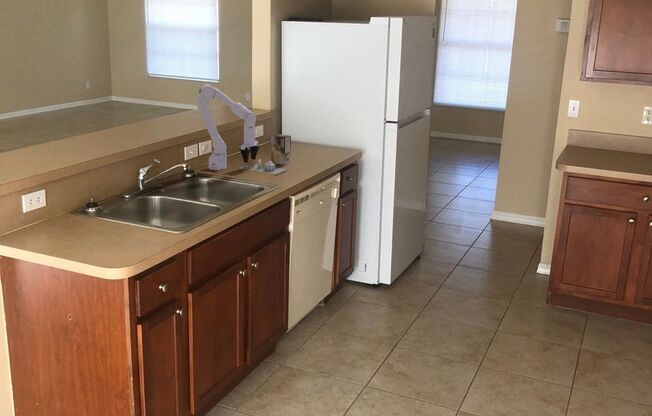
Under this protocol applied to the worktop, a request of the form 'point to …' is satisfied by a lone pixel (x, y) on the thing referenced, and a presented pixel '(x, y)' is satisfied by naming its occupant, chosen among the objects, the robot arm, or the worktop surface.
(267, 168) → the gear board
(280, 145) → the coffee box
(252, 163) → the loose gear
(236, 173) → the worktop surface
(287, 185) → the worktop surface
